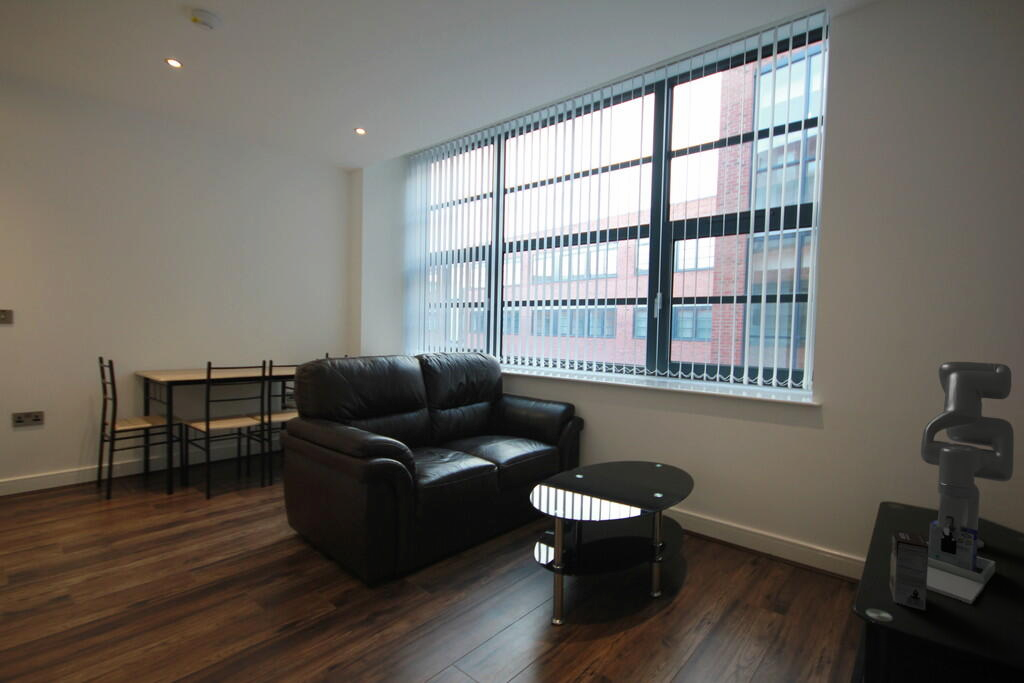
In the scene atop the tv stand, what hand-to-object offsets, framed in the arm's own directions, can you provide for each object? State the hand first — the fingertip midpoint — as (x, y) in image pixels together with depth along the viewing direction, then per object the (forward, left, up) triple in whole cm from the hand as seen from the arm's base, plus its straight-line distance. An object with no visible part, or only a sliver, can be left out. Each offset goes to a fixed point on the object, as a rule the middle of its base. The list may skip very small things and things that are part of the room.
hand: (952, 548), depth 139 cm
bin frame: (0, 0, -6) cm, 6 cm away
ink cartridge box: (0, 0, -6) cm, 6 cm away
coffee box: (+33, -2, -6) cm, 33 cm away
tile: (+15, +1, -6) cm, 16 cm away
